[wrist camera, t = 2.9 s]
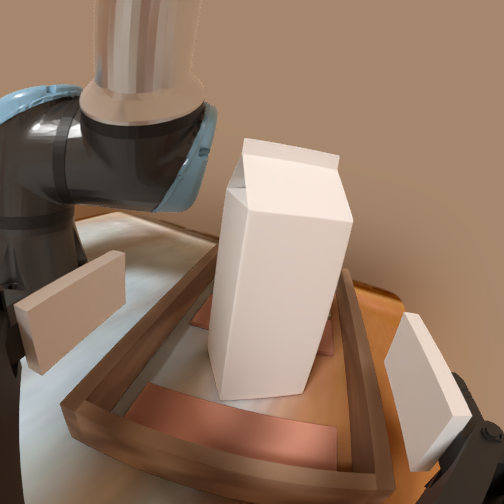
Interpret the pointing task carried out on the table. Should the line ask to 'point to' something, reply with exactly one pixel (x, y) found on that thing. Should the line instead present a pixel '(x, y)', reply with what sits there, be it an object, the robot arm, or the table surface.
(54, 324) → the robot arm
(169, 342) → the table surface
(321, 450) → the box
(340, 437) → the table surface
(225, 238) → the milk carton
